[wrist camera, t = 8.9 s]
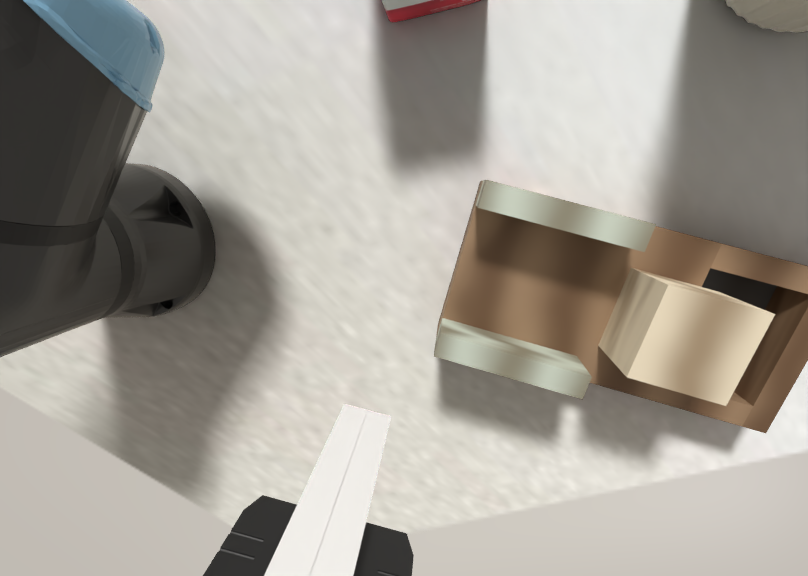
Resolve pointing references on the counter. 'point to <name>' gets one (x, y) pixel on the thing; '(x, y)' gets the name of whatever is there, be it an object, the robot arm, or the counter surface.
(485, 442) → the counter surface
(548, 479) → the counter surface
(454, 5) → the ink box
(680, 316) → the birch block
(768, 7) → the canister
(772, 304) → the wooden compartment tray
